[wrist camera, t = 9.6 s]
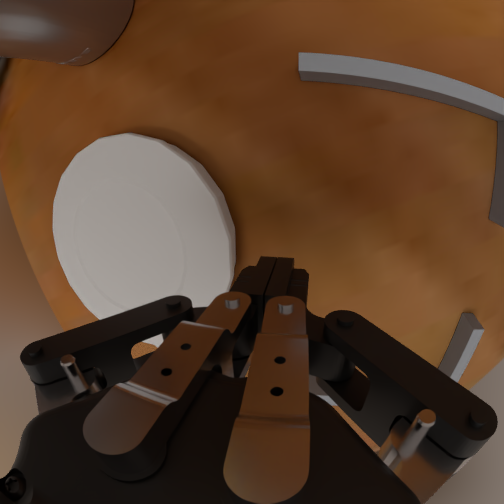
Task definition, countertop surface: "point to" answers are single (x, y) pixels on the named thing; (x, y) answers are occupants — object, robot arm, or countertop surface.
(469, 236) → the countertop surface
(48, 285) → the countertop surface
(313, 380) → the lid holder
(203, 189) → the lid
